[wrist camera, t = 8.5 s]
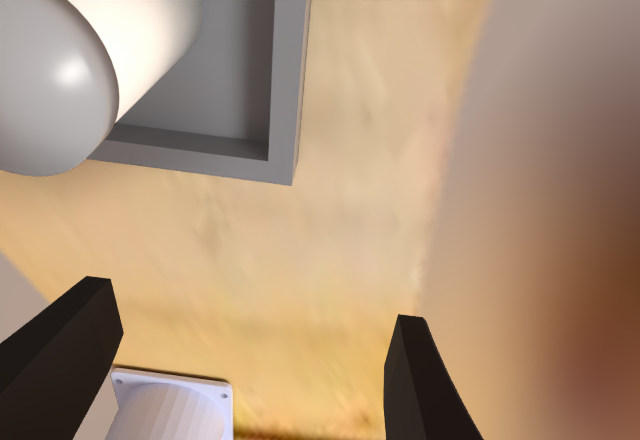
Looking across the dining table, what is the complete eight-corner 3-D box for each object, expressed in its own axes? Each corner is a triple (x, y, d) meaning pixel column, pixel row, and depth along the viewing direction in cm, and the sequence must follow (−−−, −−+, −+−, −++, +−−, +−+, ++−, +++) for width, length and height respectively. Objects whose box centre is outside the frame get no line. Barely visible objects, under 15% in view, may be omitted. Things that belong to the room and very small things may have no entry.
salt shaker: (207, 73, 18) (114, 188, 12) (90, 56, 19) (-66, 162, 12) (202, -64, 16) (78, -11, 9) (65, -83, 16) (-157, -44, 9)
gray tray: (297, 161, 21) (291, 185, 19) (29, 125, 21) (1, 147, 20) (327, -197, 14) (322, -205, 12) (-80, -249, 14) (-138, -263, 12)
